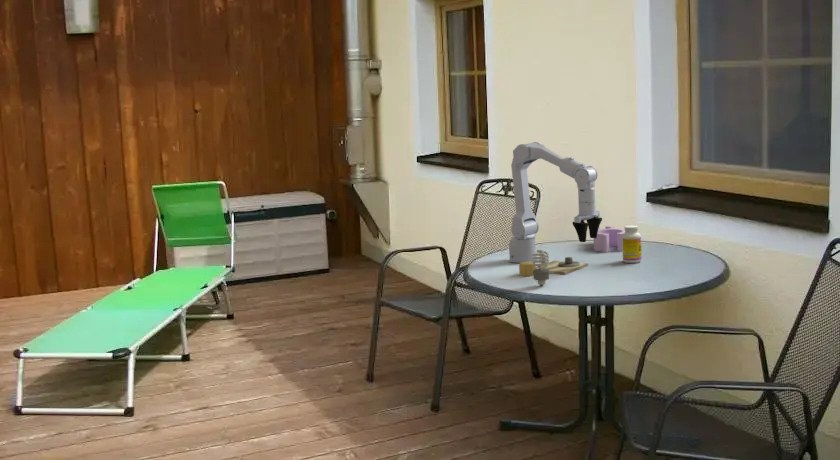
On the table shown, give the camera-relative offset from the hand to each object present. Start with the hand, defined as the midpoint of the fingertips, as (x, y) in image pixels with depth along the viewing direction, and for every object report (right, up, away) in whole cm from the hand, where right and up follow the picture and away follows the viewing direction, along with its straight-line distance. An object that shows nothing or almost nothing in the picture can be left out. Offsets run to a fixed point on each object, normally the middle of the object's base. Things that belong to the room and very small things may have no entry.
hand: (588, 239), depth 339 cm
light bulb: (-19, -15, -22) cm, 33 cm away
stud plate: (-9, -10, +4) cm, 14 cm away
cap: (-21, -12, -3) cm, 25 cm away
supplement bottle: (+17, -8, +7) cm, 20 cm away
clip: (+14, -4, +37) cm, 39 cm away
